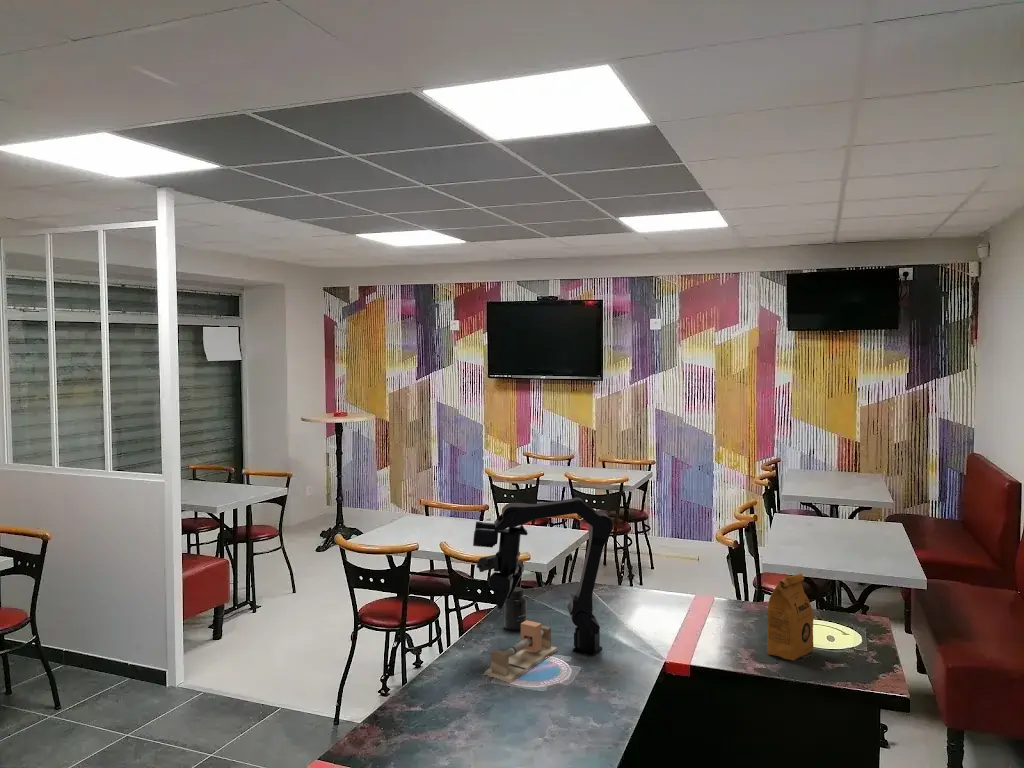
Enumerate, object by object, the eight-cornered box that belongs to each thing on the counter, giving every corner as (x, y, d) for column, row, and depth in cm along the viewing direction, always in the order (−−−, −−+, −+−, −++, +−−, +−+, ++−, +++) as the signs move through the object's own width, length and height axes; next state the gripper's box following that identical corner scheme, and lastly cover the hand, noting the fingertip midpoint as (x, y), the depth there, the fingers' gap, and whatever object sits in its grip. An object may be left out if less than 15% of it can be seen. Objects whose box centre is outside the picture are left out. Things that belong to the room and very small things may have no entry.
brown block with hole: (526, 644, 206) (526, 620, 206) (541, 648, 204) (541, 623, 203) (520, 648, 204) (520, 623, 204) (535, 652, 201) (535, 626, 201)
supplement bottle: (524, 632, 222) (524, 593, 222) (502, 630, 224) (502, 591, 223) (528, 624, 229) (528, 586, 229) (507, 622, 230) (506, 585, 230)
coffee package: (819, 654, 204) (820, 576, 203) (793, 665, 197) (793, 584, 196) (788, 643, 212) (788, 568, 211) (761, 653, 205) (761, 575, 204)
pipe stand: (533, 645, 212) (533, 622, 212) (557, 651, 208) (557, 628, 208) (485, 675, 192) (484, 651, 192) (510, 682, 188) (510, 657, 188)
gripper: (490, 537, 217) (485, 589, 217) (472, 552, 199) (467, 608, 199) (526, 543, 214) (521, 595, 215) (512, 558, 196) (506, 615, 197)
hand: (503, 603), depth 206 cm, fingers open, 9 cm apart
